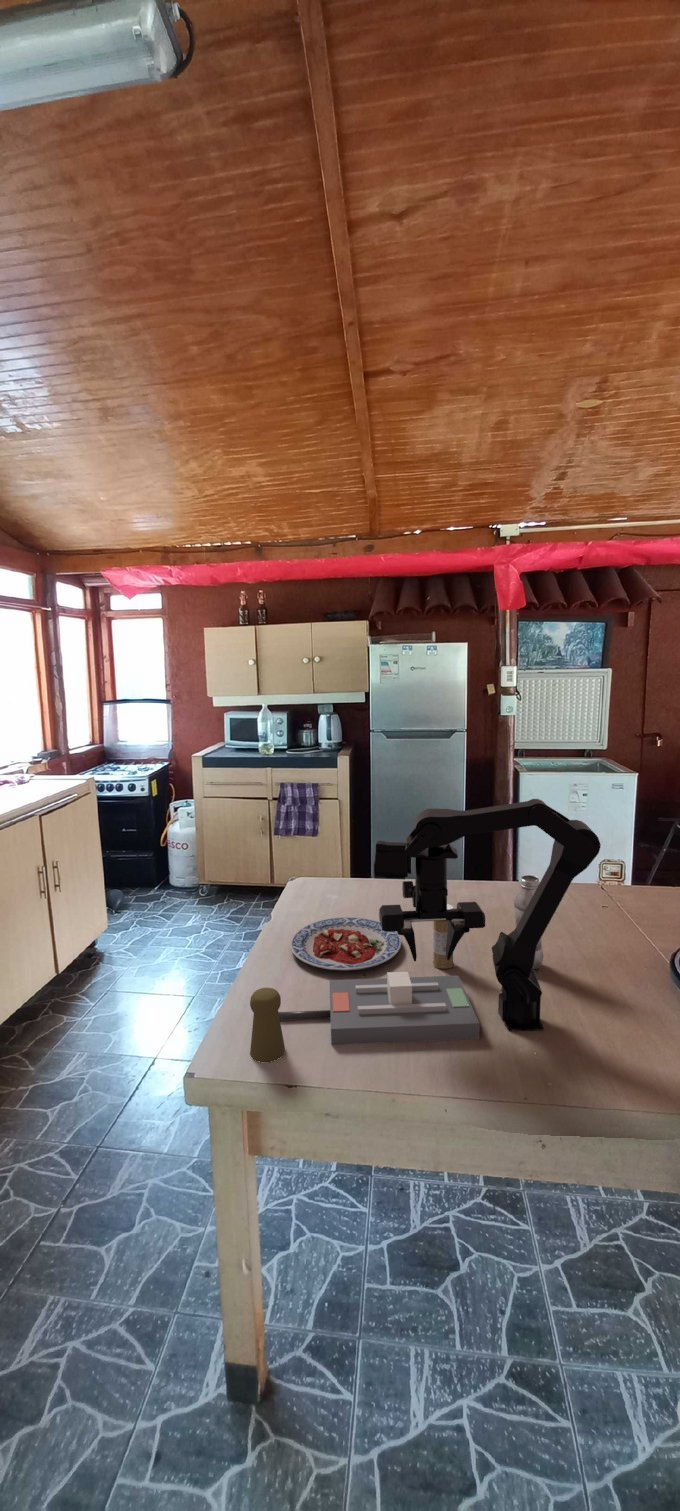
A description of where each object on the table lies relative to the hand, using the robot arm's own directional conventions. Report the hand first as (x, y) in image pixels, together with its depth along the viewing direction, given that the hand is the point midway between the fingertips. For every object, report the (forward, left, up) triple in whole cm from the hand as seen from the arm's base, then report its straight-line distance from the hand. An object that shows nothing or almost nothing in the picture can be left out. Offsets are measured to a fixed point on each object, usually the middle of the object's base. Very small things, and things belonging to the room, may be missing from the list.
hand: (431, 959), depth 109 cm
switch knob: (+6, 0, -8) cm, 10 cm away
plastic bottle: (-24, -16, -11) cm, 31 cm away
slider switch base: (+11, 0, -11) cm, 15 cm away
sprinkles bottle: (-6, -18, -11) cm, 22 cm away
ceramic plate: (+15, -27, -11) cm, 33 cm away
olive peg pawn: (+30, +9, -11) cm, 33 cm away
